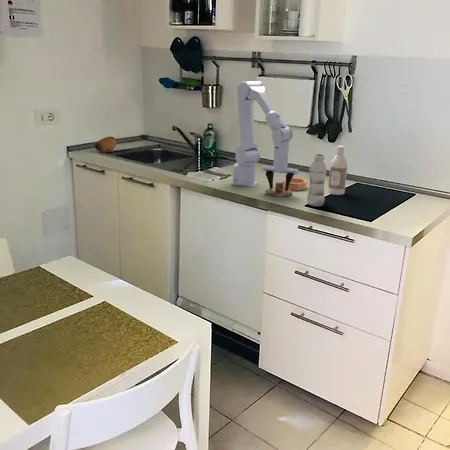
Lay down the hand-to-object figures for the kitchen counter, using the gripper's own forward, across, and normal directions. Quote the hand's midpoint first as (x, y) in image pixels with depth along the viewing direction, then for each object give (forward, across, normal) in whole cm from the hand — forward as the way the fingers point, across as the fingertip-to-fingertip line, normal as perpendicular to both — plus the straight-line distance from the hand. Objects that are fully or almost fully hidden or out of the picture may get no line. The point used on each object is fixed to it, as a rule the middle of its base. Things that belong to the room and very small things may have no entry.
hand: (278, 189), depth 218 cm
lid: (+2, 0, 0) cm, 2 cm away
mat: (+2, 0, 0) cm, 2 cm away
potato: (+2, -108, +45) cm, 117 cm away
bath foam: (+2, +22, +12) cm, 25 cm away
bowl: (+2, +4, +12) cm, 13 cm away
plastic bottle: (+2, +17, -10) cm, 20 cm away
